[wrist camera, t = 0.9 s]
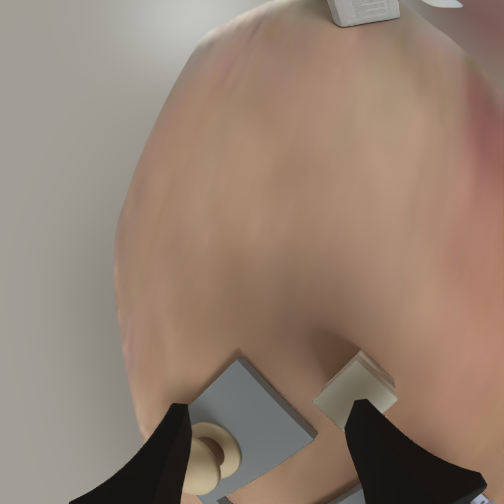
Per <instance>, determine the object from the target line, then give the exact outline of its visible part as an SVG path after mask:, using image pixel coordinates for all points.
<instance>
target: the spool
mask: <svg viewBox="0 0 504 504" xmlns="http://www.w3.org/2000/svg"><path fill="white" fill-rule="evenodd" d="M191 427H192V443H191V452H190V457H189V462H188V466H187V471H186V475H185V480H184V484H183V489H182V491H183V492H186V493H188V494H192V495H204V494H207V493H209V492H210V491H212V490H213V489H214V488H215V487H216V486H217V485H218V484H219V482H220V479H221V478H226V477H228V476H230V475H232V474H233V473H234V472H235V471H236V470H237V469H238V468H239V466H240V464H241V461H242V452H241V448H240V446H239V444H238V442H237V440H236V439H235V437H234V436H233V435H232V434H231V433H230V432H229V431H228V430H227V429H225V428H224V427H222V426H220V425H218V424H216V423H212V422H199V423H197V424H194V425H192V426H191Z"/></svg>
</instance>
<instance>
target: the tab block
mask: <svg viewBox="0 0 504 504" xmlns="http://www.w3.org/2000/svg"><path fill="white" fill-rule="evenodd" d="M366 398H367V399H368V400H369V401H370V402H371V403H372V404H373V405H374V406H375V407H376V408H377V409H378V410H379V411H380V412H381V413H382V414H383V413H384V412H385V411H386V410H387V409H388V408H390V407H391V406H392V405H393V404H394V403H395V402H396V401H397V400H398V397H397V392H396V388H395V383H394V379H393V378H391V377H390V376H389V375H388V374H387V373H386V372H385V371H384V370H383V369H382V368H381V367H380V366H379V365H378V364H377V363H376V362H375V361H374V360H373V359H371V358H370V357H369V356H368V355H367V354H366V353H365V352H364V351H363V350H362V349H361V350H360V351H359V352H358V353H357V354H356V355H355V356H354V357H353V358H352V359H351V360H350V361H349V362H348V363H347V364H346V365H345V366H344V367H343V368H342V369H341V370H340V371H339V372H338V373H337V374H336V375H335V376H334V377H333V378H332V379H331V380H330V381H329V382H328V383H327V384H326V385H325V386H324V388H323V389H322V390H321V391H320V393H319V394H318V395H317V396H316V397H315V399H314V400H313V401H312V402H313V403H314V404H315V405H316V406H317V407H318V408H319V409H320V410H321V411H322V412H323V413H324V414H325V415H326V416H327V417H328V418H329V419H331V420H332V421H333V422H334V423H335V424H336V425H337V426H338V427H339V428H340V429H341V430H342V431H343V432H344V433H345V430H344V427H345V424H346V422H347V419H348V417H349V414H350V411H351V409H352V406H353V403H354V400H360V399H366Z"/></svg>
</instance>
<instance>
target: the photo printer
mask: <svg viewBox="0 0 504 504" xmlns="http://www.w3.org/2000/svg"><path fill="white" fill-rule="evenodd" d="M327 2H328V5H329V8H330V11H331V14H332V17H333V20H334V22H335V24H337V25H338V26H342V27H346V26H353V25H358V24H364V23H370V22H376V21H382V20H389V19H395V18H399V17H400V12H399V5H398V0H327Z"/></svg>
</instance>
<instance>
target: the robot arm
mask: <svg viewBox="0 0 504 504" xmlns="http://www.w3.org/2000/svg"><path fill="white" fill-rule="evenodd" d="M344 430H345V435H346V440H347V445H348V448H349V451H350V454H351V457H352V460H353V462H354V465H355V468H356V471H357V474H358V476H359V479H360V482H361V485H362V489H363V493H364V498H365V503H366V504H495V503H494V502H493V500H491V501H490V500H489V499H487V498H486V497H485V496H484V495H483V494H482V492H483V491H484V490H485V489H486V487H487V483H486V482H485V480H484V478H483V477H482V475H481V473H479V472H475V471H471V470H468V469H464V468H461V467H459V466H456V465H453V464H451V463H449V462H446V461H444V460H442V459H440V458H438V457H436V456H434V455H433V454H431V453H429V452H428V451H426V450H425V449H423V448H422V447H420V446H418V445H417V444H416V443H414V442H413V441H412V440H410V439H409V438H408V437H407V436H405V435H404V434H403V433H402V432H401V431H400V430H399V429H397V428H396V427H395V426H394V425H393V424H392V423H391V422H390V421H389V420H388V419H387V418H386V417H385V416H384V415H383V414H382V413H381V412H380V411H379V410H378V409H377V408H376V407H375V406H374V405H373V404H372V403H371V402H370V401H369V400H368V399H367V398H366V399H360V400H354V403H353V406H352V409H351V411H350V414H349V417H348V419H347V422H346V424H345V427H344ZM191 443H192V427H191V422H190V416H189V410H188V404H178V403H173V404H171V406H170V408H169V410H168V411H167V413H166V415H165V416H164V418H163V420H162V421H161V423H160V424H159V426H158V427H157V428H156V430H155V431H154V433H153V434H152V435H151V437H150V438H149V439H148V441H147V442H146V443H145V444H144V445H143V447H142V448H141V449H140V450H139V451H138V453H137V454H136V455H135V456H134V457H133V458H132V459H131V460H130V461H129V462H128V463H127V464H126V465H125V466H124V467H123V468H121V469H120V470H119V471H118V472H117V473H116V474H114V475H113V476H112V477H111V478H110V479H108V480H107V481H105V482H104V483H102V484H101V485H99V486H98V487H96V488H95V489H93V490H92V491H90V492H88V493H86V494H85V495H82V496H80V497H78V498H76V499H75V500H72V501H70V502H69V504H180V503H181V495H182V489H183V484H184V480H185V475H186V471H187V466H188V462H189V457H190V452H191ZM482 501H483V502H482Z"/></svg>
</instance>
